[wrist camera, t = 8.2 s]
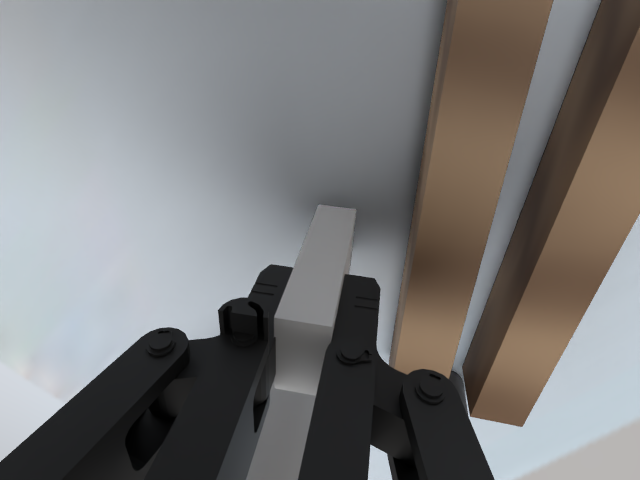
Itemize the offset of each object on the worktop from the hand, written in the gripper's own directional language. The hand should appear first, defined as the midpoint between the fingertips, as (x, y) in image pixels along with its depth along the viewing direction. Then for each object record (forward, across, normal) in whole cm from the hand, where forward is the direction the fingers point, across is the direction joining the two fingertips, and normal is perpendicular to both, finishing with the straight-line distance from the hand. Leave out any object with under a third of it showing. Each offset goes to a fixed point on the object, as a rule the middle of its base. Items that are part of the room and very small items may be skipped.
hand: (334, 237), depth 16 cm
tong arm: (+1, +4, +1) cm, 4 cm away
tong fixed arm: (+1, +7, 0) cm, 7 cm away
